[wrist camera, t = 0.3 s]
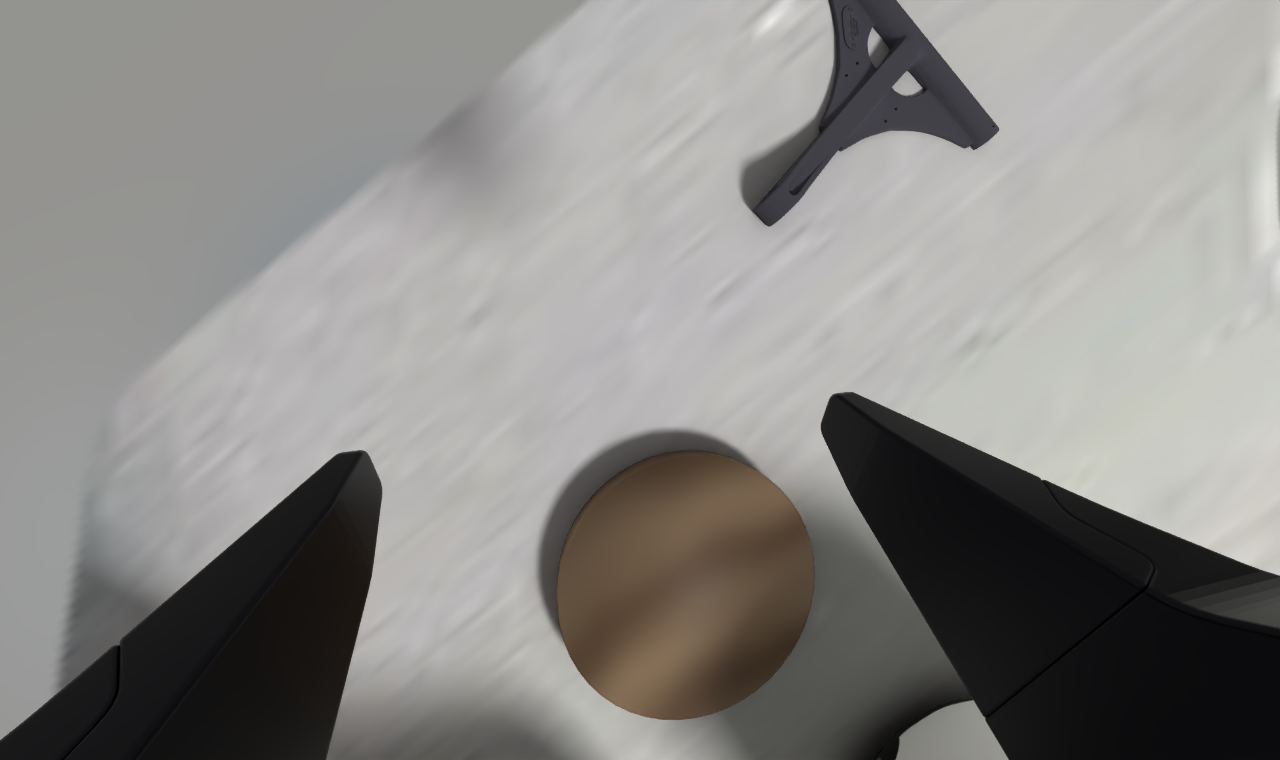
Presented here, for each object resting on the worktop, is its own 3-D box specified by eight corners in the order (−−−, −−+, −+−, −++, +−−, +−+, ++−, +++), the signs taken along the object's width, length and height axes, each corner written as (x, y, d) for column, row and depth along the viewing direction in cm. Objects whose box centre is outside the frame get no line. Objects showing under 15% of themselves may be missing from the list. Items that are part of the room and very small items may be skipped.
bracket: (662, 129, 25) (676, 101, 22) (828, -50, 26) (860, -97, 24) (835, 310, 27) (867, 304, 25) (977, 137, 29) (1022, 114, 26)
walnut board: (839, 599, 27) (855, 612, 26) (643, 750, 25) (649, 773, 24) (726, 402, 25) (736, 404, 24) (504, 547, 23) (502, 560, 22)
